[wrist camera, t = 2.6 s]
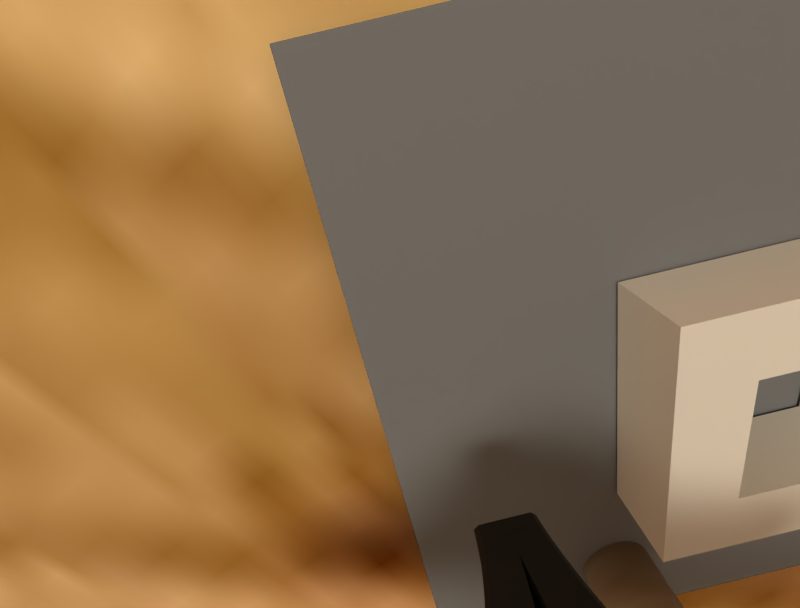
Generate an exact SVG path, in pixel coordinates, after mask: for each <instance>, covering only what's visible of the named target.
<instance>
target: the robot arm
mask: <svg viewBox="0 0 800 608" xmlns="http://www.w3.org/2000/svg"><path fill="white" fill-rule="evenodd" d="M474 533H475V538H476V542H477V547H478V552H479V557H480V562H481V567H482V576H483V586H484V599H485V608H606V607H605V606H604V604H603V603H602V602H601V601H600V600H599V599H598V597H597V596H596V595H595V594H594V593H593V591H592V590H591V589H590V588H589V587H588V585H587V584H586V583H585V582H584V581H583V579H582V578H581V577H580V576H579V574H578V573H577V572H576V571H575V569H574V568H573V567H572V565H571V564H570V563H569V561H568V560H567V559H566V558H565V556H564V555H563V554H562V552H561V551H560V550H559V548H558V547H557V545H556V544H555V543H554V541H553V540H552V538H551V537H550V536H549V534H548V533H547V531H546V530H545V528H544V527H543V525H542V524H541V522H540V521H539V519H538V517H537V516H536V515H535V514H533V513H531V512H530V513H526V514H521V515H517V516H513V517H509V518H505V519H501V520H497V521H493V522H489V523H485V524H481V525H478V526H477V527H476V528H475V529H474Z"/></svg>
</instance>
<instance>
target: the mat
mask: <svg viewBox="0 0 800 608" xmlns="http://www.w3.org/2000/svg"><path fill="white" fill-rule="evenodd" d="M270 48H271V51H272V54H273V58H274V61H275V64H276V68H277V71H278V75H279V78H280V81H281V85H282V88H283V91H284V95H285V98H286V102H287V105H288V108H289V112H290V115H291V118H292V122H293V125H294V128H295V132H296V135H297V139H298V142H299V145H300V149H301V152H302V155H303V159H304V162H305V166H306V169H307V172H308V176H309V179H310V182H311V186H312V189H313V193H314V196H315V199H316V203H317V206H318V209H319V213H320V216H321V219H322V223H323V226H324V230H325V233H326V236H327V240H328V243H329V246H330V250H331V253H332V257H333V260H334V263H335V267H336V270H337V273H338V277H339V280H340V284H341V287H342V290H343V294H344V297H345V300H346V304H347V307H348V310H349V314H350V317H351V321H352V324H353V327H354V331H355V334H356V337H357V341H358V344H359V348H360V351H361V354H362V358H363V361H364V364H365V368H366V371H367V375H368V378H369V381H370V385H371V388H372V391H373V395H374V398H375V401H376V405H377V408H378V412H379V415H380V418H381V422H382V425H383V428H384V432H385V435H386V439H387V442H388V445H389V449H390V452H391V455H392V459H393V462H394V466H395V469H396V472H397V476H398V479H399V482H400V486H401V489H402V492H403V496H404V499H405V503H406V506H407V509H408V513H409V516H410V519H411V523H412V526H413V530H414V533H415V536H416V540H417V543H418V546H419V550H420V553H421V556H422V560H423V563H424V567H425V570H426V573H427V577H428V580H429V583H430V587H431V590H432V594H433V597H434V600H435V604H436V607H437V608H485V599H484V586H483V576H482V567H481V562H480V557H479V552H478V547H477V542H476V538H475V533H474V529H475V528H476V527H477V526H478V525H481V524H485V523H489V522H493V521H497V520H501V519H505V518H509V517H513V516H517V515H521V514H526V513H530V512H531V513H533V514H535V515H536V516H537V517H538V519H539V521H540V522H541V524H542V525H543V527H544V528H545V530H546V531H547V533H548V534H549V536H550V537H551V538H552V540H553V541H554V543H555V544H556V545H557V547H558V548H559V550H560V551H561V552H562V554H563V555H564V556H565V558H566V559H567V560H568V561H569V563H570V564H571V565H572V567H573V568H574V569H575V571H576V572H577V573H578V574H579V576H580V577H581V578H582V579H583V581H584V582H585V583H586V584H587V585H588V587H589V588H590V586H589V584H588V582H587V580H586V578H585V575H584V566H585V564H586V562H587V560H588V559H589V558H590V557H591V556H592V555H593V554H594V553H595V552H596V551H598V550H599V549H601V548H603V547H605V546H607V545H610V544H613V543H617V542H623V541H630V542H636V543H639V544H640V545H642V546H643V547H644V548H645V549H646V551H647V552H648V554H649V555H650V557H651V558H652V560H653V561H654V563H655V564H656V566H657V567H658V569H659V570H660V572H661V574H662V575H663V577H664V578H665V580H666V581H667V583H668V584H669V586H670V587H671V589H672V590H673V592H674V594H675V595H678V594H682V593H686V592H690V591H694V590H698V589H702V588H707V587H711V586H715V585H719V584H723V583H727V582H731V581H735V580H740V579H744V578H748V577H752V576H756V575H760V574H764V573H768V572H773V571H777V570H781V569H785V568H789V567H793V566H797V565H800V529H799V530H794V531H790V532H786V533H782V534H778V535H774V536H770V537H766V538H761V539H757V540H753V541H749V542H745V543H741V544H737V545H733V546H728V547H724V548H720V549H716V550H712V551H708V552H704V553H700V554H695V555H691V556H687V557H683V558H679V559H675V560H671V561H667V562H663V561H662V560H661V558H660V557H659V555H658V554H657V552H656V551H655V549H654V548H653V546H652V545H651V543H650V542H649V540H648V539H647V537H646V536H645V534H644V533H643V531H642V530H641V528H640V527H639V525H638V524H637V522H636V521H635V519H634V518H633V516H632V515H631V513H630V512H629V510H628V509H627V507H626V506H625V504H624V503H623V501H622V500H621V498H620V497H619V495H618V494H617V370H618V282H621V281H625V280H630V279H634V278H638V277H642V276H646V275H650V274H655V273H659V272H663V271H667V270H671V269H675V268H680V267H684V266H688V265H692V264H696V263H700V262H705V261H709V260H713V259H717V258H721V257H725V256H730V255H734V254H738V253H742V252H746V251H750V250H755V249H759V248H763V247H767V246H771V245H776V244H780V243H784V242H788V241H792V240H796V239H800V0H452V1H448V2H443V3H439V4H435V5H431V6H427V7H422V8H418V9H414V10H410V11H405V12H401V13H397V14H393V15H389V16H384V17H380V18H376V19H372V20H368V21H363V22H359V23H355V24H351V25H346V26H342V27H338V28H334V29H330V30H325V31H321V32H317V33H313V34H309V35H304V36H300V37H296V38H292V39H287V40H283V41H279V42H275V43H271V44H270ZM799 403H800V371H797V372H792V373H788V374H784V375H780V376H776V377H772V378H768V379H763V380H759V383H758V389H757V395H756V400H755V406H754V412H753V417H756V416H761V415H765V414H769V413H773V412H777V411H781V410H786V409H790V408H794V407H798V406H799ZM590 589H591V588H590Z"/></svg>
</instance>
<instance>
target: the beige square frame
mask: <svg viewBox="0 0 800 608" xmlns="http://www.w3.org/2000/svg"><path fill="white" fill-rule="evenodd" d="M797 371H800V239H796V240H792V241H788V242H784V243H780V244H776V245H771V246H767V247H763V248H759V249H755V250H750V251H746V252H742V253H738V254H734V255H730V256H725V257H721V258H717V259H713V260H709V261H705V262H700V263H696V264H692V265H688V266H684V267H680V268H675V269H671V270H667V271H663V272H659V273H655V274H650V275H646V276H642V277H638V278H634V279H630V280H625V281H621V282H618V370H617V494H618V495H619V497H620V498H621V500H622V501H623V503H624V504H625V506H626V507H627V509H628V510H629V512H630V513H631V515H632V516H633V518H634V519H635V521H636V522H637V524H638V525H639V527H640V528H641V530H642V531H643V533H644V534H645V536H646V537H647V539H648V540H649V542H650V543H651V545H652V546H653V548H654V549H655V551H656V552H657V554H658V555H659V557H660V558H661V560H662V561H663V562H667V561H671V560H675V559H679V558H683V557H687V556H691V555H695V554H700V553H704V552H708V551H712V550H716V549H720V548H724V547H728V546H733V545H737V544H741V543H745V542H749V541H753V540H757V539H761V538H766V537H770V536H774V535H778V534H782V533H786V532H790V531H794V530H799V529H800V403H799V406H798V407H794V408H790V409H786V410H781V411H777V412H773V413H769V414H765V415H761V416H756V417H753V412H754V406H755V400H756V395H757V389H758V383H759V380H763V379H768V378H772V377H776V376H780V375H784V374H788V373H792V372H797Z"/></svg>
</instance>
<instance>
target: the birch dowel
mask: <svg viewBox="0 0 800 608" xmlns="http://www.w3.org/2000/svg"><path fill="white" fill-rule="evenodd" d="M584 575H585V578H586V580H587V582H588V584H589V586H590V588H591V590H592V591H593V593H594V594H595V595H596V596H597V597H598V599H599V600H600V601H601V602H602V603H603V604H604V606H605V607H606V608H684V607H683V606H682V604H681V603H680V601H679V600H678V598H677V597H676V595H675V594H674V592H673V590H672V589H671V587H670V586H669V584H668V583H667V581H666V580H665V578H664V577H663V575H662V574H661V572H660V570H659V569H658V567H657V566H656V564H655V563H654V561H653V560H652V558H651V557H650V555H649V554H648V552H647V551H646V549H645V548H644V547H643V546H642V545H640V544H639V543H636V542H630V541H623V542H617V543H613V544H610V545H607V546H605V547H603V548H601V549H599V550H598V551H596V552H595V553H594V554H593V555H592V556H591V557H590V558H589V559H588V560H587V562H586V564H585V566H584Z"/></svg>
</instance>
